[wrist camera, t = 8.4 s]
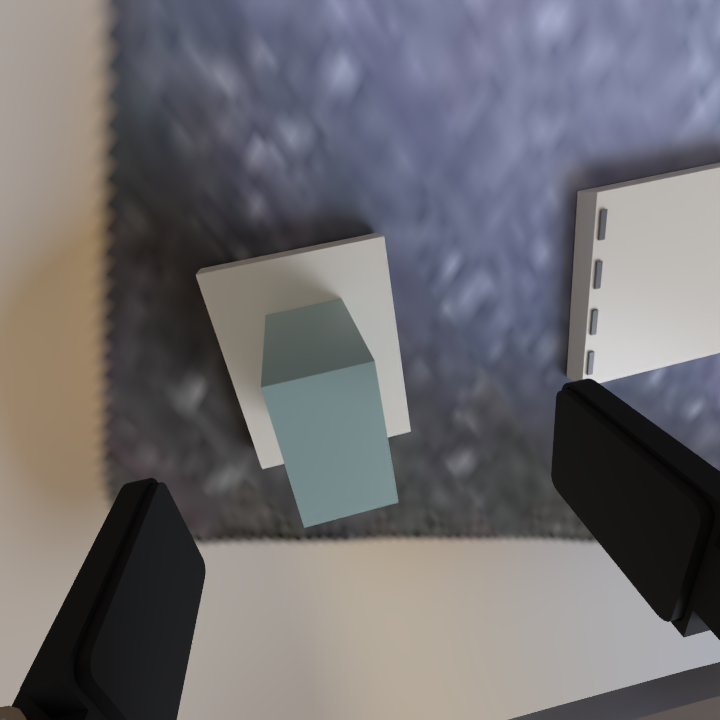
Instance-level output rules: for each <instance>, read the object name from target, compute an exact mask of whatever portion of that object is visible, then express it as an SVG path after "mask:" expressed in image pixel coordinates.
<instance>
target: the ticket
mask: <svg viewBox="0 0 720 720" xmlns="http://www.w3.org/2000/svg"><path fill="white" fill-rule="evenodd" d="M717 353H720V162H719V163H714V164H709V165H704V166H699V167H694V168H689V169H684V170H679V171H674V172H669V173H665V174H660V175H655V176H650V177H645V178H640V179H635V180H630V181H625V182H620V183H615V184H610V185H606V186H601V187H596V188H591V189H586V190H581V191H578V193H577V210H576V227H575V243H574V260H573V277H572V294H571V310H570V327H569V344H568V361H567V377H568V378H569V379H570V380H572V381H573V382H574V381H578V380H583V379H587V378H589V379H593V380H595V381H596V382H597V383H602V382H606V381H610V380H614V379H618V378H622V377H626V376H630V375H634V374H638V373H642V372H645V371H649V370H653V369H657V368H661V367H665V366H669V365H673V364H677V363H681V362H685V361H689V360H693V359H697V358H701V357H705V356H709V355H713V354H717Z"/></svg>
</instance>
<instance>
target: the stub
mask: <svg viewBox="0 0 720 720" xmlns="http://www.w3.org/2000/svg"><path fill="white" fill-rule="evenodd" d="M196 278H197V281H198V284H199V286H200V289H201V292H202V295H203V298H204V301H205V304H206V307H207V310H208V313H209V316H210V318H211V321H212V324H213V327H214V330H215V333H216V336H217V339H218V342H219V345H220V348H221V350H222V353H223V356H224V359H225V362H226V365H227V368H228V371H229V374H230V377H231V380H232V382H233V385H234V388H235V391H236V394H237V397H238V400H239V403H240V406H241V409H242V412H243V414H244V417H245V420H246V423H247V426H248V429H249V432H250V435H251V438H252V441H253V444H254V446H255V449H256V452H257V455H258V458H259V461H260V464H261V467H262V469H265V468H269V467H273V466H277V465H281V464H285V467H286V470H287V474H288V477H289V480H290V483H291V486H292V490H293V493H294V496H295V499H296V502H297V506H298V509H299V512H300V515H301V518H302V522H303V525H304V528H305V527H309V526H312V525H316V524H320V523H324V522H327V521H331V520H335V519H338V518H342V517H346V516H349V515H353V514H357V513H361V512H364V511H368V510H372V509H375V508H379V507H383V506H387V505H390V504H394V503H398V497H397V491H396V485H395V479H394V473H393V467H392V461H391V455H390V449H389V443H388V437H391V436H395V435H399V434H403V433H407V432H411V430H410V423H409V416H408V408H407V401H406V394H405V386H404V379H403V372H402V364H401V357H400V350H399V342H398V335H397V328H396V320H395V313H394V306H393V298H392V291H391V284H390V276H389V269H388V262H387V254H386V247H385V240H384V236H383V235H381V234H379V233H373V234H368V235H363V236H358V237H353V238H348V239H343V240H338V241H333V242H328V243H324V244H319V245H314V246H309V247H304V248H299V249H294V250H289V251H284V252H279V253H274V254H270V255H265V256H260V257H255V258H250V259H245V260H240V261H235V262H230V263H225V264H220V265H215V266H211V267H206V268H201V269H200V270H199V271H198V272H197V274H196Z"/></svg>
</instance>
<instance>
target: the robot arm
mask: <svg viewBox="0 0 720 720" xmlns="http://www.w3.org/2000/svg"><path fill="white" fill-rule="evenodd" d="M551 477H552V482H553V484H554V486H555V488H556V490H557V491H558V492H559V494H560V495H561V496H562V497H563V499H564V500H565V501H566V502H567V504H568V505H569V506H570V507H571V509H572V510H573V511H574V512H575V514H576V515H577V516H578V517H579V518H580V520H581V521H582V522H583V523H584V525H585V526H586V527H587V528H588V530H589V531H590V532H591V533H592V535H593V536H594V537H595V538H596V540H597V541H598V542H599V543H600V544H601V545H602V547H603V548H604V549H605V551H606V552H607V553H608V554H609V556H610V557H611V558H612V559H613V560H614V562H615V563H616V564H617V565H618V567H619V568H620V569H621V570H622V572H623V573H624V574H625V575H626V577H627V578H628V579H629V580H630V582H631V583H632V584H633V585H634V587H635V588H636V589H637V590H638V592H639V593H640V594H641V595H642V597H643V598H644V599H645V600H646V601H647V603H648V604H649V605H650V606H651V608H652V609H653V610H654V611H655V613H656V614H657V615H659V617H660V618H662V619H663V620H664V621H667V622H669V621H671V622H672V624H673V625H674V626H675V627H676V629H677V630H678V631H679V632H680V633H681V635H682V636H683V637H687V636H690V635H694V634H697V633H701V632H705V631H708V630H711V631H712V632H713V633H714V634H715V635H716V637H717V638H718V639H719V640H720V471H718V470H717V469H716V468H714V467H713V466H712V465H710V464H709V463H707V462H706V461H705V460H703V459H702V458H701V457H699V456H698V455H696V454H695V453H694V452H692V451H691V450H690V449H688V448H687V447H685V446H684V445H683V444H681V443H680V442H679V441H677V440H676V439H674V438H673V437H672V436H670V435H669V434H668V433H666V432H665V431H663V430H662V429H661V428H659V427H658V426H657V425H655V424H654V423H652V422H651V421H650V420H648V419H647V418H646V417H644V416H643V415H641V414H640V413H639V412H637V411H636V410H635V409H633V408H632V407H630V406H629V405H628V404H626V403H625V402H624V401H622V400H621V399H619V398H618V397H617V396H615V395H614V394H612V393H611V392H610V391H608V390H607V389H606V388H604V387H603V386H601V385H600V384H599V383H597V382H596V381H595V380H593V379H589V378H587V379H583V380H578V381H574V382H570V383H566V384H564V385H563V387H562V391H559V392H558V393H557V396H556V410H555V425H554V441H553V456H552V472H551ZM204 579H205V564H204V560H203V558H202V556H201V554H200V552H199V550H198V548H197V546H196V544H195V542H194V540H193V538H192V536H191V534H190V532H189V530H188V528H187V526H186V524H185V522H184V520H183V518H182V516H181V514H180V512H179V510H178V508H177V506H176V504H175V502H174V500H173V498H172V496H171V494H170V492H169V490H168V488H167V486H166V485H165V484H164V483H163V482H160V483H158V482H157V481H156V480H155V479H154V478H148V479H144V480H140V481H135V482H131V483H127V484H125V485H123V487H122V488H121V490H120V492H119V494H118V496H117V498H116V500H115V502H114V504H113V506H112V508H111V510H110V512H109V514H108V516H107V518H106V520H105V522H104V524H103V526H102V528H101V530H100V532H99V533H98V535H97V537H96V539H95V541H94V543H93V546H92V547H91V550H90V551H89V553H88V555H87V557H86V559H85V561H84V563H83V565H82V567H81V569H80V571H79V573H78V575H77V577H76V579H75V581H74V583H73V585H72V587H71V589H70V591H69V593H68V595H67V597H66V599H65V601H64V603H63V605H62V607H61V609H60V611H59V613H58V615H57V616H56V618H55V620H54V622H53V624H52V626H51V628H50V630H49V633H48V634H47V636H46V638H45V640H44V642H43V644H42V646H41V648H40V650H39V652H38V654H37V656H36V658H35V660H34V662H33V664H32V666H31V668H30V670H29V672H28V674H27V676H26V678H25V680H24V682H23V684H22V686H21V688H20V691H19V693H18V695H17V697H16V699H15V700H14V703H13V705H12V706H5V707H0V720H177V714H178V709H179V705H180V700H181V694H182V690H183V685H184V680H185V674H186V670H187V664H188V660H189V655H190V650H191V644H192V640H193V634H194V629H195V624H196V619H197V614H198V609H199V604H200V599H201V594H202V589H203V584H204ZM510 720H720V662H718V663H715V664H711V665H707V666H703V667H699V668H695V669H691V670H687V671H683V672H680V673H676V674H672V675H669V676H665V677H661V678H658V679H654V680H650V681H647V682H643V683H640V684H636V685H632V686H629V687H625V688H621V689H618V690H615V691H611V692H607V693H603V694H599V695H596V696H592V697H589V698H585V699H582V700H578V701H574V702H570V703H567V704H563V705H559V706H556V707H552V708H549V709H545V710H542V711H538V712H534V713H531V714H527V715H524V716H520V717H517V718H513V719H510Z"/></svg>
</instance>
